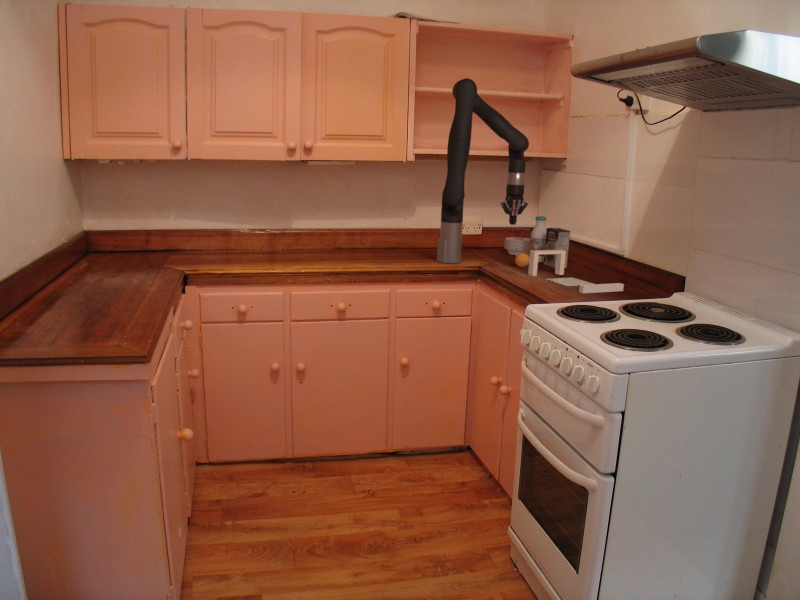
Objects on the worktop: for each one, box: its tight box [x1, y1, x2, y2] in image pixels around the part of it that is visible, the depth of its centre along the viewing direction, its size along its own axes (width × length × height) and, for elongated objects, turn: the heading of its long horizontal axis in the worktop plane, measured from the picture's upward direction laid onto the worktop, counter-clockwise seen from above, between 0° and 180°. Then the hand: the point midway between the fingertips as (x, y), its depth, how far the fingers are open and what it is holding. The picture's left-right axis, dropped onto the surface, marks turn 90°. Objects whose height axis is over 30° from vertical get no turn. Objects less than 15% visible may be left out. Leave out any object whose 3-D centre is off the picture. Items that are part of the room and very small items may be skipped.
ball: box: [514, 253, 529, 268], centre depth 283 cm, size 6×6×6 cm
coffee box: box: [543, 227, 571, 269], centre depth 289 cm, size 9×6×16 cm
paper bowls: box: [503, 236, 531, 257], centre depth 318 cm, size 15×15×8 cm
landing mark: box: [545, 277, 595, 287], centre depth 256 cm, size 13×13×1 cm
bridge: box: [527, 250, 566, 277], centre depth 268 cm, size 3×15×10 cm, turn 114°
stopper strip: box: [578, 282, 625, 294], centre depth 239 cm, size 18×2×2 cm, turn 114°
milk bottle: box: [529, 215, 547, 263], centre depth 300 cm, size 8×8×20 cm
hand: (512, 224), depth 289 cm, fingers closed
